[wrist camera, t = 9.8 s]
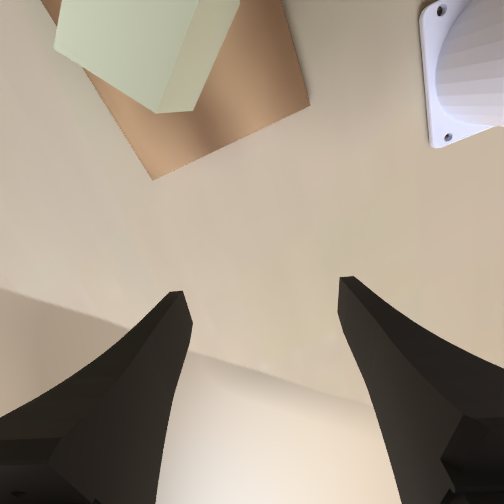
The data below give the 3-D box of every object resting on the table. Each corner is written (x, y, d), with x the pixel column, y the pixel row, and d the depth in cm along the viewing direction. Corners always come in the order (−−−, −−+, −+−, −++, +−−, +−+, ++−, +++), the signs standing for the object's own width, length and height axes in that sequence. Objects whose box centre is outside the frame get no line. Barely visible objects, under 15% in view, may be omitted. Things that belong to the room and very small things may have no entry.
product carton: (240, 3, 14) (227, -76, 8) (193, 110, 16) (156, 113, 10) (168, -56, 13) (89, -201, 7) (129, 69, 15) (47, 44, 9)
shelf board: (224, -190, 11) (217, -260, 9) (308, 105, 17) (315, 105, 15) (26, -36, 14) (-17, -62, 12) (156, 177, 19) (143, 186, 17)
